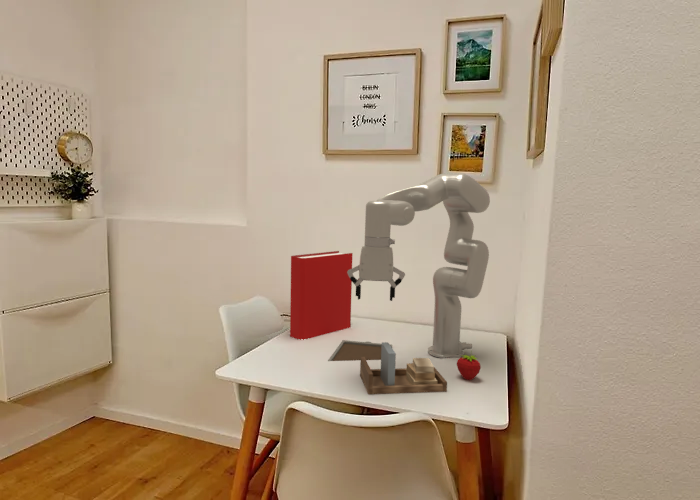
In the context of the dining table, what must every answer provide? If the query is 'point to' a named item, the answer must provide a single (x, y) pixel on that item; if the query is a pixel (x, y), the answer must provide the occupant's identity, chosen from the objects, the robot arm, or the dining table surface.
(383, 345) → the grey square slab
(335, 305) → the book
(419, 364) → the offcut top
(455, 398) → the dining table surface
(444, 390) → the tray
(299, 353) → the dining table surface
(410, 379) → the offcut bottom
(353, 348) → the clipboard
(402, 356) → the dining table surface
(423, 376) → the offcut middle
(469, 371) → the strawberry
